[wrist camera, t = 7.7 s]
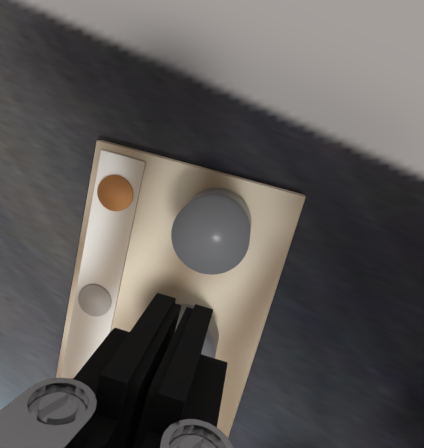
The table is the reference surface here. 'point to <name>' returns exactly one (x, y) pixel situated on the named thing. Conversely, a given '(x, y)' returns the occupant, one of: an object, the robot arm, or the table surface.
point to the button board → (171, 259)
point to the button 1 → (212, 231)
